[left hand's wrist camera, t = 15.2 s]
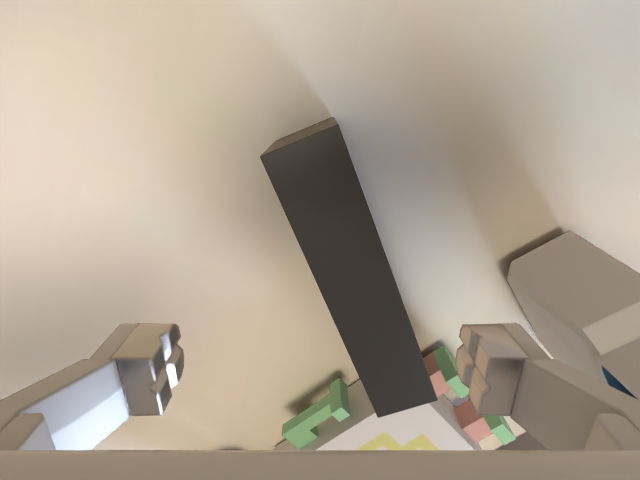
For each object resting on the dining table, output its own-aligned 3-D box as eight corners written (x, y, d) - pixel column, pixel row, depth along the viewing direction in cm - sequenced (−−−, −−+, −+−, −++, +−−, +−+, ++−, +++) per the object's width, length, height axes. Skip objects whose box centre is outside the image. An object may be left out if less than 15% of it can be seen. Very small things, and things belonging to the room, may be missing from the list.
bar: (275, 140, 34) (259, 156, 25) (333, 116, 33) (338, 123, 24) (365, 351, 42) (377, 418, 34) (413, 336, 42) (438, 400, 33)
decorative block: (355, 560, 46) (242, 476, 40) (351, 507, 52) (252, 427, 46) (539, 466, 40) (435, 352, 34) (510, 418, 46) (418, 314, 40)
